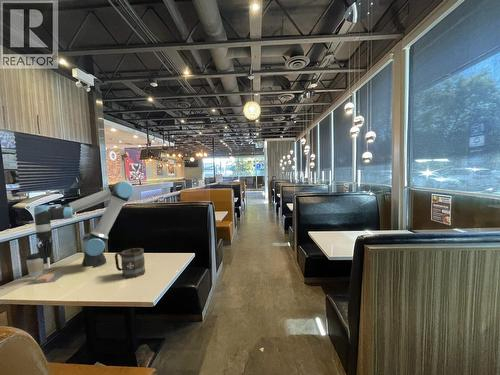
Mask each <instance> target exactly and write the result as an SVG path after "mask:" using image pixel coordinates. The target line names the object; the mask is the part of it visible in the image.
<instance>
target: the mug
mask: <svg viewBox="0 0 500 375" xmlns="http://www.w3.org/2000/svg"><path fill="white" fill-rule="evenodd" d="M144 250H145V249H144V248H142V247H136V248H135V247H134V248H129V249H124V250H122V251H120V252H119V251H118V252H116V253H115V254H114V260H115V267H116V269H117V271H119V272H120V271H121V272H122V278H124V279H133V278H134V279H136V278H140V277H141V276H144V275H145V273H146V268H145V262H146V261H145V254H144ZM118 255H119V256H120V257H121V268H120V264H119V259H118V258H119V257H118Z"/></svg>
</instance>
